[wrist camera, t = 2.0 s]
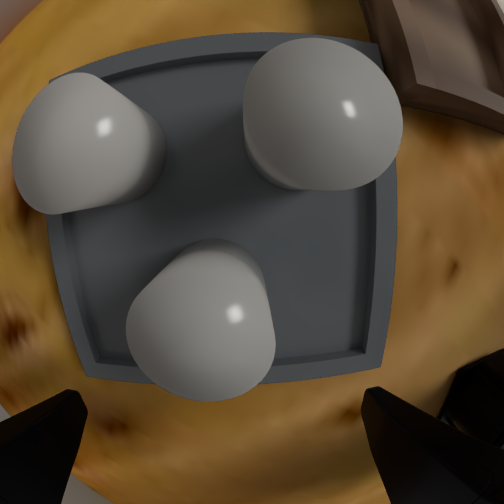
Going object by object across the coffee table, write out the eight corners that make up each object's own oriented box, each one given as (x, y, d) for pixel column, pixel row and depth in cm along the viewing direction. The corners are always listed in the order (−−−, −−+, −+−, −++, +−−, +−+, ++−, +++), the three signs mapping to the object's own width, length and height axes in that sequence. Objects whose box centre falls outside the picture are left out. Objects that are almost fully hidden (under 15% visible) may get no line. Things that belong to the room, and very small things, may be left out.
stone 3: (359, 170, 10) (423, 161, 6) (268, 206, 10) (285, 217, 6) (319, 81, 9) (359, 28, 5) (227, 113, 10) (216, 63, 5)
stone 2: (266, 328, 12) (276, 399, 7) (175, 331, 12) (144, 397, 7) (262, 235, 11) (273, 268, 6) (162, 241, 11) (112, 275, 6)
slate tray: (370, 352, 13) (380, 367, 12) (96, 362, 13) (86, 376, 12) (365, 55, 10) (377, 44, 8) (64, 87, 10) (49, 80, 8)
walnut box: (511, 137, 10) (542, 134, 7) (383, 102, 10) (417, 83, 7) (453, -25, 7) (471, -39, 4) (329, -70, 7) (339, -95, 4)
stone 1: (156, 210, 10) (101, 225, 6) (76, 196, 10) (5, 205, 6) (177, 112, 10) (136, 69, 5) (94, 107, 9) (31, 79, 5)
